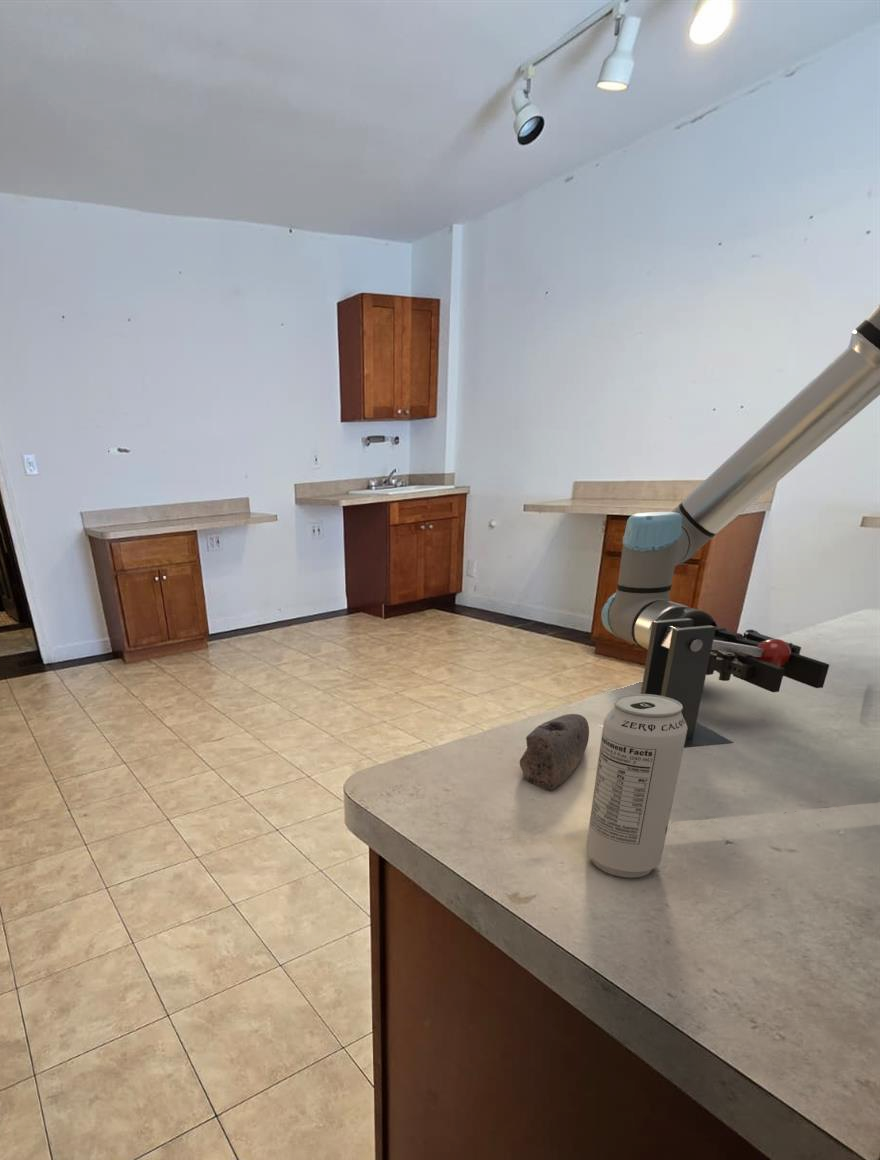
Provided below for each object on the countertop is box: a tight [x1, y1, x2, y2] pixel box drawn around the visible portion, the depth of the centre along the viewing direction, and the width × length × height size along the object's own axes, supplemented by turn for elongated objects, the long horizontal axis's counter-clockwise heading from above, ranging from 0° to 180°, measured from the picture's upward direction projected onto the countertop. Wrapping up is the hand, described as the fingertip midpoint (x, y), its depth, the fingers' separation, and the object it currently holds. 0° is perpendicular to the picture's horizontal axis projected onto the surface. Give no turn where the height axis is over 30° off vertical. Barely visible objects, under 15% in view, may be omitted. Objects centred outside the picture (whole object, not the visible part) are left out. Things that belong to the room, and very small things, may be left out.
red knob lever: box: [661, 626, 791, 667], centre depth 75 cm, size 15×4×4 cm, turn 94°
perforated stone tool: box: [519, 713, 590, 792], centre depth 72 cm, size 15×5×7 cm, turn 139°
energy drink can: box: [585, 693, 688, 879], centre depth 54 cm, size 6×6×15 cm
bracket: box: [598, 618, 735, 749], centre depth 76 cm, size 12×9×15 cm
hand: (800, 678), depth 71 cm, fingers closed on red knob lever, 4 cm apart
